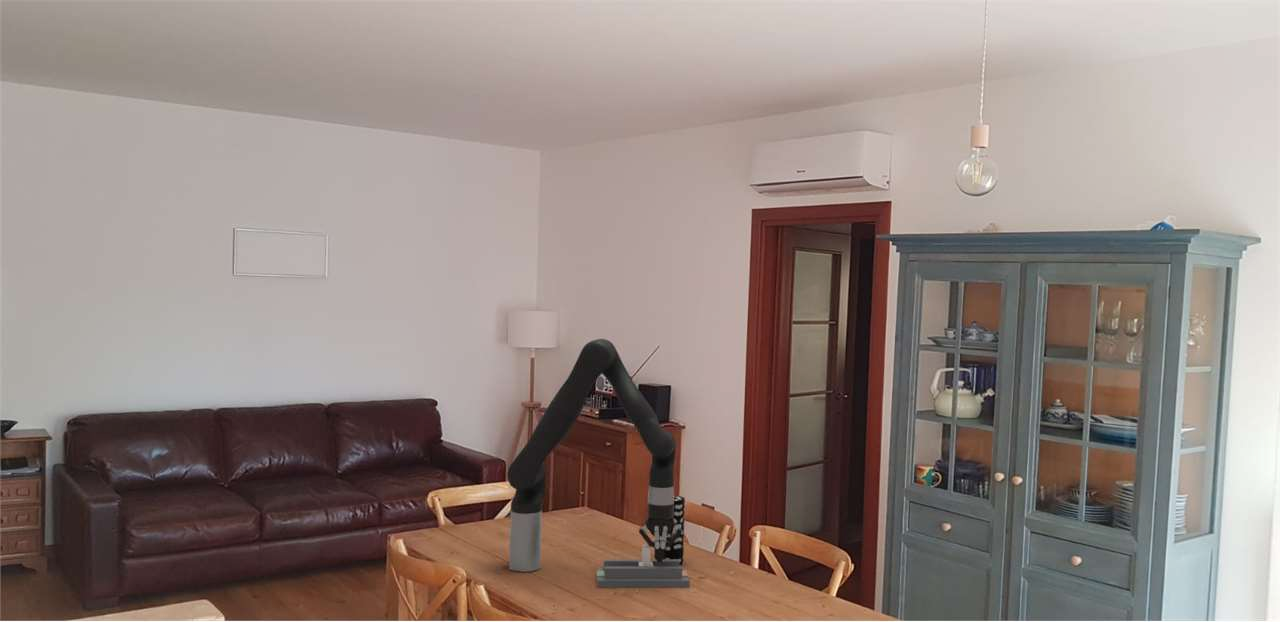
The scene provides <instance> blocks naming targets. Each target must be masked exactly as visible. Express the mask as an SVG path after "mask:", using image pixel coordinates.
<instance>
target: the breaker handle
mask: <svg viewBox="0 0 1280 622" xmlns="http://www.w3.org/2000/svg"><path fill="white" fill-rule="evenodd" d="M641 549H642V551H641V559H642V562H638V566H653V563H652V562H650V559H651V547H650V546H649V545H648V544H642V545H641Z"/></svg>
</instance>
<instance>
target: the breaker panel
mask: <svg viewBox="0 0 1280 622" xmlns="http://www.w3.org/2000/svg"><path fill="white" fill-rule="evenodd" d="M638 562H642V558H641V559H640V558H639V559H637V558H636V559H635V558H633V559H632V558H631V559H629V558H628V559H627V558H626V559H623V558H621V559H616V558H615V559H611V558H610V559H607V558H606V559H603V563H602V564H603V567H596V568H595V572H596V573H595V574H596V577H595V578H596V585H597V589H611V588H612V589H618V588H619V589H622V588H623V589H624V588H625V589H641V588H643V589H649V588H651V589H655V588H656V589H663V588H664V589H665V588H667V589H669V588H670V589H675V588H676V589H677V588H678V589H679V588H681V589H683V588H685V589H689V588H690V587H691V586H690V585H691V583H690V578H689V575H688V573H687V570H686V568H685V567H683V566H682V565H681V566H679V559H664V560H662V562H660V561H659V562H657V560H655V558H654V559H651V558H650V562H652V563H653V566H638Z"/></svg>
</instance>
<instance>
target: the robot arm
mask: <svg viewBox="0 0 1280 622" xmlns="http://www.w3.org/2000/svg"><path fill="white" fill-rule="evenodd" d="M581 349H582V350H581V351H580V353H579V356H578V357H577V359H576V362H575V363H574V366H573V367H572V369H571V371H570V373H569V375H568V377H567V379H566V380H565V382H564V383H563V384H562V385H561V387H560V388H559V390H558V391H557V393H556V394H555V395H554V396H553V399H552V400H551V401H550V403H549V405H548V406H547V408H546V409H545V411H544V413H543V415H542V416H541V419H539V421H538V424H537V425H536V426H535V429H534V430H533V431H532V433H531V436H530V438H529V439H528V441H527V443H525V445H524V447H523V448H522V450H521V451H520V452H519V453H518V454H517V456H516V457H515V459H514V460H513V461H512V462H511V464H510V465H509V467H508V468H507V469H508V470H507V480H508V483H509V485H510V486H511V487H512V488H513V489H515V493H514V496H513V498H512V499H511V502H510V529H509V531H510V535H509V551H508V552H509V559H508V570H509V571H515V572H520V573H521V572H523V573H525V572H527V573H528V572H534V571H538V570H539V569H541V567H542V566H541V565H542V564H541V563H542V524H543V523H542V522H543V521H542V519H543V517H542V515H543V504H544V501H545V493H546V467H545V464H544V463H545V461H546V459H547V458H548V457H549V455H550V453H552V451H554V449H555V448H556V447H557V446H558V445H559V444H560V443H561V442H562V441H563V440H564V439H565V437H566V436H567V435H569V432H570V431H571V430H572V429H573V427H574V426H575V424H576V422H577V421H578V419H579V417H580V416H581V414H582V412H583V410H584V406H585V403H586V400H587V397H588V395H589V392H590V390H591V389H592V387H593V385H594V384H595V383H596V381H597V380H598V378H599V377H600V376H601V375H603V376H604V377H605V379H606V380H607V381H608V382H609V384H610V385H611V388H612V389H613V391H614V392H615V395H616V396H617V400H618V401H619V404H620V406H621V408H622V409H623V412H624V413H625V414H626V416H627V418H628V419H629V420H630V422H631V423H632V425H633V427H635V429H636V430H637V432H638V433H639V435H640V438H641V440H642V442H643V443H644V446H646V449H647V450H648V451H649V453H650V454H651V466H650V467H649V468H650V469H649V475H648V476H649V477H648V480H649V481H648V482H649V483H648V491H647V515H646V516H647V518H646V521H645V525H643V526H642V527H641V526H640V527H638V533H639V534H640V535H641V538H643V540H644V541H645V542H646V544H647V545H649V546H650V548H653V549H654V551H653V552H654V559H655V560H657V562H659V561H660V562H662V560H664V557H665V548H666V547H670V546H671V545H672V544H673V543H674V542H675V540H676V539H677V538H678V537H679V535H680V534H681V533H682V531H681V529H680V528H678V527H677V526H676V525H675V522H674V519H673V517H674V496H675V490H674V482H675V481H674V480H675V479H674V478H675V476H674V466H675V459H676V451H677V450H676V449H677V448H676V447H677V442H676V438H675V436H674V435H673V434H672V433H671V432H670V431H668V430H664V428H663V426H661V425H660V423H659V419H658V416H657V414H656V412H655V410H653V408H652V406H650V404H649V403H648V401H647V400H646V398H645V397H644V395H643V394H642V393H641V391H640V389H639V388H638V387H637V385H636V383H635V382H634V381H633V379H632V377H631V376H630V374H629V373H628V370H627V369H626V366H625V364H624V363H623V361H622V359H621V357H620V355H619V353H618V350H617V349H616V346H615V345H614V344H613V342H611V341H610V340H608V339H605V338H597V339H594V340H591V341H589V342H587V343H586V344H585V345H584V346H583V347H582V348H581ZM672 529H673V534H672V535H671V537H670V538H669V539H668V540H667V541H666V536H668V535H669V533H670V532H671V531H672ZM648 532H649V533H650V534H651V536H653V541H652V539H651V537H649V535H648V534H647V533H648ZM659 536H661V541H660V547H659Z"/></svg>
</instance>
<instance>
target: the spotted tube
mask: <svg viewBox="0 0 1280 622" xmlns="http://www.w3.org/2000/svg"><path fill="white" fill-rule="evenodd" d="M685 501H686V498H685V497H684V496H680V495H674V517H673V519H674V522H675V525H676V526H677V527H678V528H680V529H681V531H682V533H681V534H680V535H679V537H678V538H677V539H676V540H675V542H674V543H673V544H672V545H671V546H670V547H666V548H665V557H664V559H679V566H681V567H682V566H683V564H684V552H685V551H684V550H685V549H684V546H685V545H684V542H685V510H686V508H685V506H686V505H685ZM672 534H673V529H672V531H671V532H670V533H669V535H668V536H666V541H667V540H668V539H669V538H670V537H671V535H672ZM660 541H661V536H659V547H660Z"/></svg>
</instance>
